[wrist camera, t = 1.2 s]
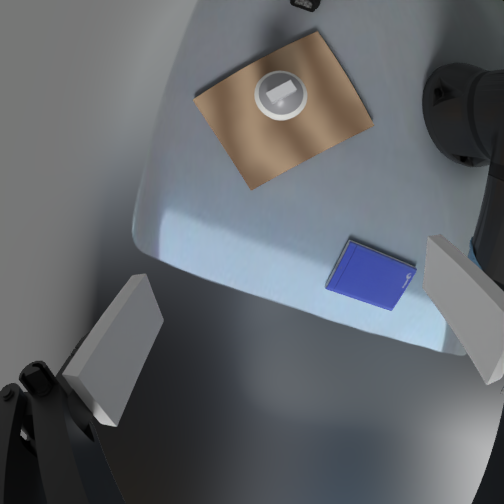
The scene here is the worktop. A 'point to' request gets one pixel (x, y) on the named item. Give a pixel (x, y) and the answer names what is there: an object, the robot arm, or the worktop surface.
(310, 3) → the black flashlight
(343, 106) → the board
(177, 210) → the worktop surface
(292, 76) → the white bottle
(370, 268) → the hard drive
